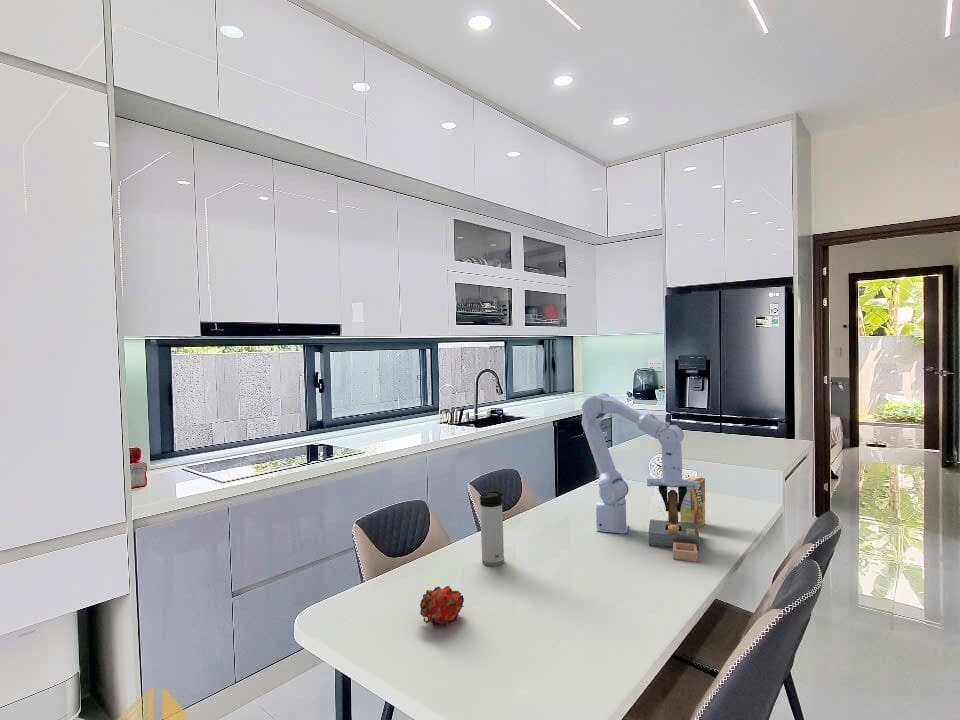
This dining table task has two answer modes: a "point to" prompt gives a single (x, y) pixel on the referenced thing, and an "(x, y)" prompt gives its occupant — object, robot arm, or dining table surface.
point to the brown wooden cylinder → (673, 507)
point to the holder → (684, 551)
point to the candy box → (694, 503)
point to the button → (673, 527)
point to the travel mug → (492, 528)
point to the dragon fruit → (441, 605)
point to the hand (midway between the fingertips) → (673, 510)
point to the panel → (672, 534)
